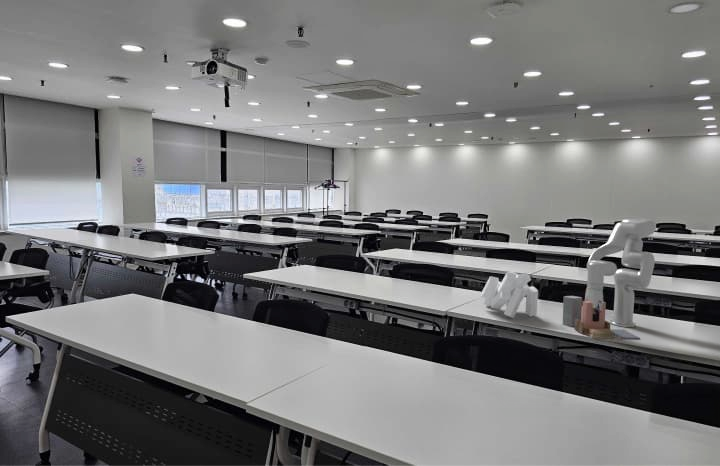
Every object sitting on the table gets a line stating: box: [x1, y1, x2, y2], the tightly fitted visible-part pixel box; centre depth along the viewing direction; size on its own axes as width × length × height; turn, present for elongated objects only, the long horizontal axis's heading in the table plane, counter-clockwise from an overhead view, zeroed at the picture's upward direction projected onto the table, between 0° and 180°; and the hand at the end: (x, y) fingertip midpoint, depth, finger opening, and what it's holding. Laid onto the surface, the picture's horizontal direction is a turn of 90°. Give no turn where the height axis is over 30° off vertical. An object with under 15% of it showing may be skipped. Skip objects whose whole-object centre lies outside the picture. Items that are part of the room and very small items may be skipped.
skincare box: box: [562, 295, 583, 327], centre depth 249 cm, size 8×7×16 cm
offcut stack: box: [587, 329, 614, 339], centre depth 228 cm, size 4×11×4 cm, turn 91°
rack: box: [574, 319, 612, 335], centre depth 236 cm, size 7×15×6 cm, turn 91°
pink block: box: [581, 300, 607, 329], centre depth 235 cm, size 4×10×14 cm, turn 91°
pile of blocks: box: [481, 271, 539, 319], centre depth 269 cm, size 35×30×35 cm
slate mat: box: [610, 328, 641, 340], centre depth 232 cm, size 14×9×1 cm, turn 1°
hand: (593, 319), depth 236 cm, fingers closed on pink block, 4 cm apart
